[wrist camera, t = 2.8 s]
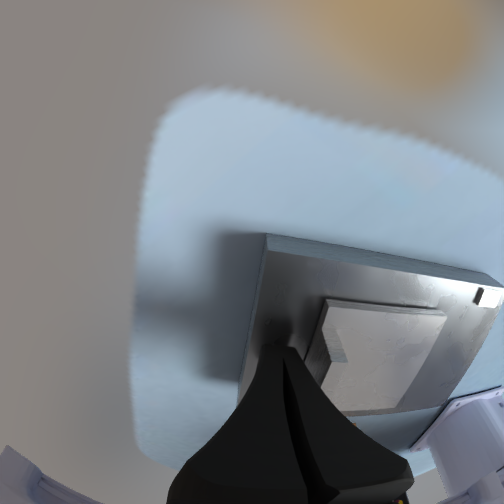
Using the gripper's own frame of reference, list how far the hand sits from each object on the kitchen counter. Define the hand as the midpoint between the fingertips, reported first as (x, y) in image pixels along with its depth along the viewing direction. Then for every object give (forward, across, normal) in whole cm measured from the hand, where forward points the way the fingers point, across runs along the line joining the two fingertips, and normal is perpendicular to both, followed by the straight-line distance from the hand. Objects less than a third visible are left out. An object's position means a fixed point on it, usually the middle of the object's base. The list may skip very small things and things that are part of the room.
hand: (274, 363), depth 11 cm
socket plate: (+3, -6, 0) cm, 7 cm away
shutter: (+1, -4, 0) cm, 4 cm away
